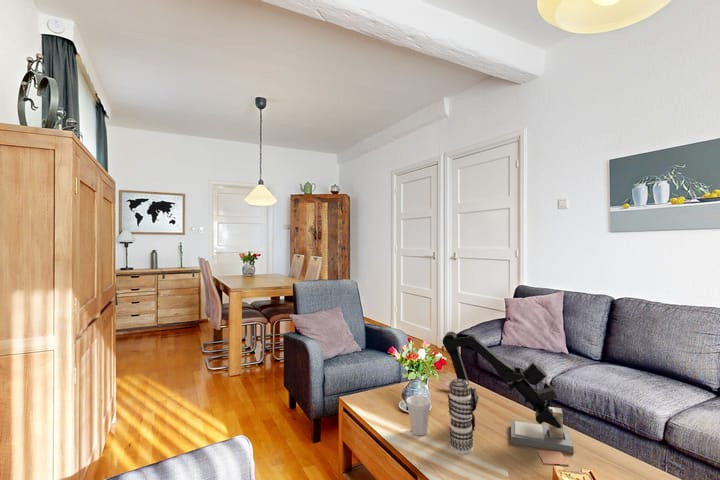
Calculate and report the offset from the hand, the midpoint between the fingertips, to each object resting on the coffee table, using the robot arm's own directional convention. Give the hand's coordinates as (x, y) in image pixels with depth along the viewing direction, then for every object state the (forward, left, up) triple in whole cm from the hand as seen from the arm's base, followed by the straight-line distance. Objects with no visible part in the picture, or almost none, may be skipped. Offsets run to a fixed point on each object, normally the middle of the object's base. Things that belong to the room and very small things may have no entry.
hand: (559, 424), depth 143 cm
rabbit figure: (-36, +44, -7) cm, 57 cm away
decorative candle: (-37, -9, -7) cm, 39 cm away
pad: (-6, -12, -7) cm, 15 cm away
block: (-1, 0, -7) cm, 7 cm away
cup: (-53, 0, -7) cm, 54 cm away
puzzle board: (-7, +1, -7) cm, 10 cm away
